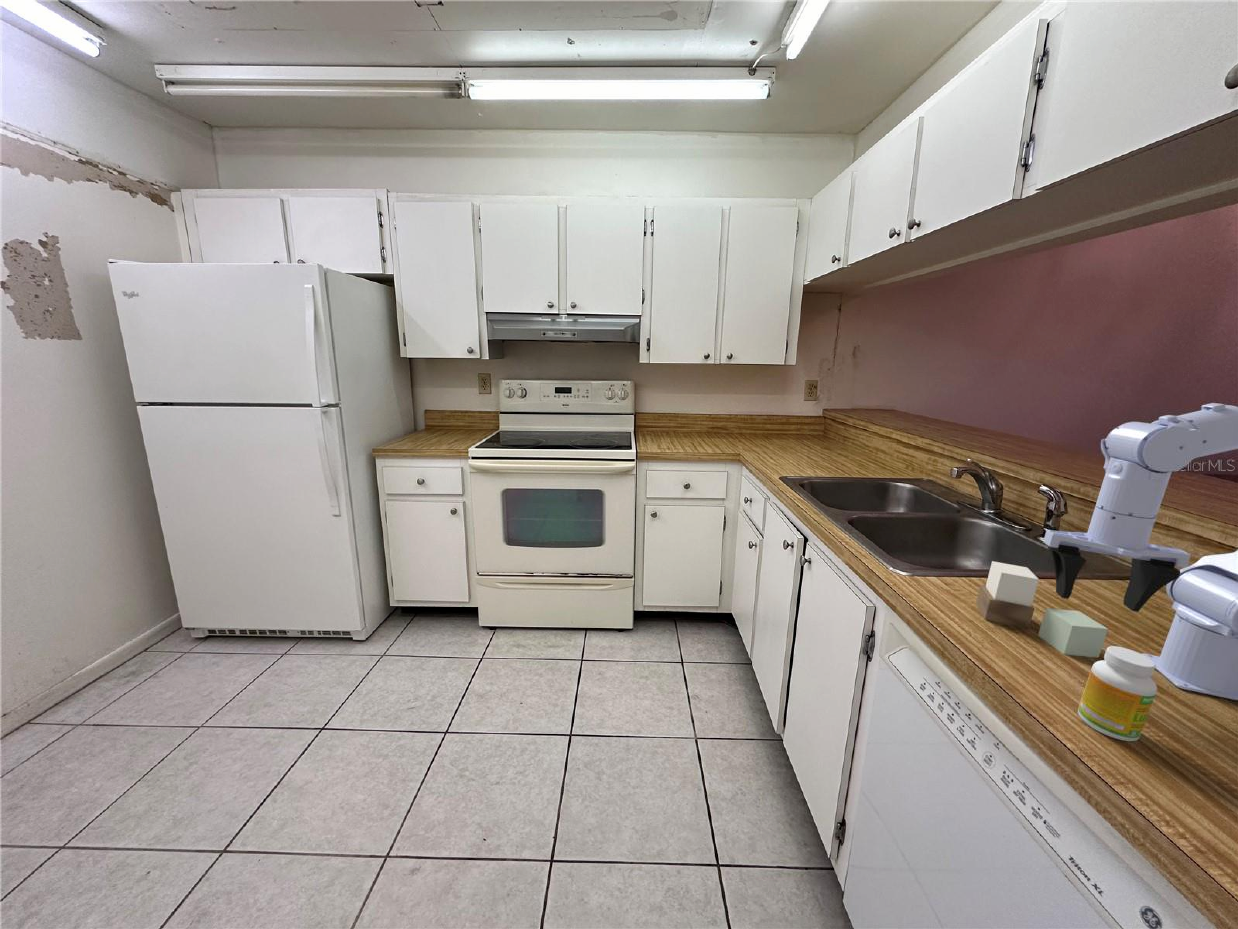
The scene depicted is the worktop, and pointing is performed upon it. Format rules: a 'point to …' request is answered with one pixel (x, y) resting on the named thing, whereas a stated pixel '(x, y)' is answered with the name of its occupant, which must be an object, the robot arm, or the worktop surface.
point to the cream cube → (1011, 583)
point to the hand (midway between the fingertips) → (1095, 601)
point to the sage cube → (1072, 632)
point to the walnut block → (1003, 610)
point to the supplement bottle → (1119, 694)
